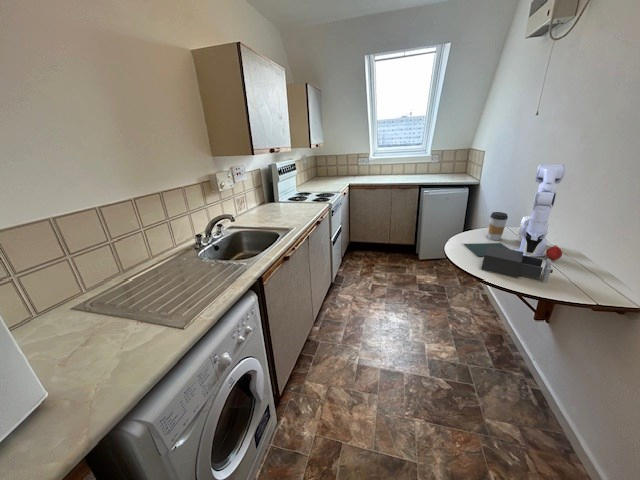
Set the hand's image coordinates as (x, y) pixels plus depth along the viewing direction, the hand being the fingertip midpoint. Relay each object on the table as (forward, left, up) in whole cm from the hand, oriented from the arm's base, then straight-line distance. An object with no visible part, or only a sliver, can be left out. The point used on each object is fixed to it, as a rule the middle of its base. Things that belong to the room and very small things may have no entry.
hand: (529, 250), depth 115 cm
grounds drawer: (0, +3, -9) cm, 10 cm away
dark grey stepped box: (+9, -3, -10) cm, 14 cm away
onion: (-19, -10, -10) cm, 24 cm away
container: (0, 0, -1) cm, 1 cm away
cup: (-21, -32, -10) cm, 40 cm away
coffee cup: (-8, -39, -10) cm, 41 cm away
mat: (+3, -23, -10) cm, 25 cm away
